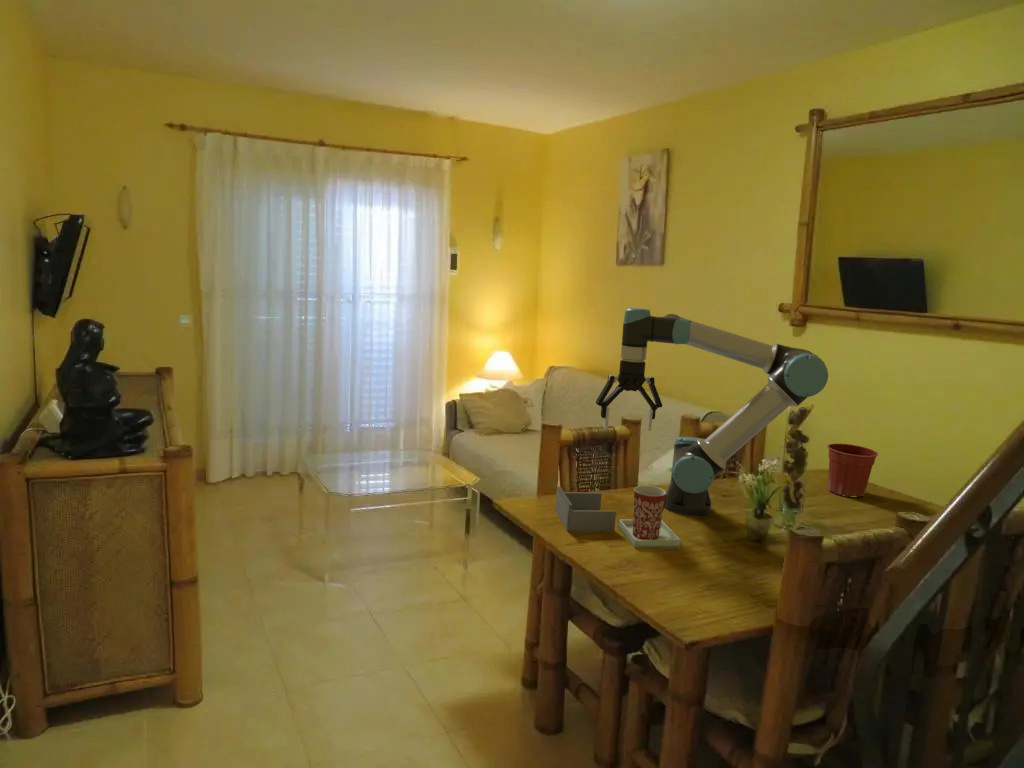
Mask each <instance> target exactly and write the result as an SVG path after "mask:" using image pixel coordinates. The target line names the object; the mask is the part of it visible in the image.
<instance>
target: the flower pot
mask: <svg viewBox="0 0 1024 768" xmlns="http://www.w3.org/2000/svg"><path fill="white" fill-rule="evenodd" d="M827 449H828V460H829V461H828V462H829V463H828V476H827V477H828V480H827V489H828V492H830V493H835V494H834V495H837V494H839V495H838V496H840V495H845V496H862V495H864V496H865V494H866V492H867V488H868V483H869V480H870V476H871V472H872V469H873V466H875V461H876V458H877V457H878V456H879V453H878V452H877V450H876V451H875V450H874V449H872V448H869V447H865V446H860V445H854V444H849V443H848V444H847V443H830V444H828V445H827Z"/></svg>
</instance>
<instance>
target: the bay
mask: <svg viewBox="0 0 1024 768" xmlns="http://www.w3.org/2000/svg"><path fill="white" fill-rule="evenodd" d="M602 494H603V493H602V492H580V491H579V492H578V491H577V492H573V491H564V490H563V489H562V487H561V486H557V487H556V496H555V509H554V511H555V513H556V515H557V517H558V518H559V520H560V521H561V524H562V525H563V527H564V528H565V530H566V532H615V528H616V517H617V516H616V515H617V511H616V510H601V504H602V503H601V502H602Z"/></svg>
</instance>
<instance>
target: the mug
mask: <svg viewBox="0 0 1024 768" xmlns="http://www.w3.org/2000/svg"><path fill="white" fill-rule="evenodd" d="M666 491H667V490H665V489H663V488H661V487H658V486H654V485H653V486H652V485H638V486H636V487H634V488H633V517H632V518H633V535H634V536H635V537H636V538H638V539H642V540H656V539H657V538H658V537H659V531H660V525H661V520H662V519H663V518H662V517H663V513H664V511H665V504H666Z"/></svg>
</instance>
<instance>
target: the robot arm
mask: <svg viewBox="0 0 1024 768" xmlns="http://www.w3.org/2000/svg"><path fill="white" fill-rule="evenodd" d="M621 335H622V337H621V350H620V358H621V359H620V360H619V370H618V371H619V373H618V375H613V374H611V373H610V374H608V377H607V382H606V383H605V385H604V387H603V388H602V390H601V392H600V393H599V395H598V396H597V399H596V400H595V404H596V405H598V406H599V407H600V417H601V418H602V419H603V420H602V421H603V422H602V428H603V429H604V430H608V428H609V418H610V417H609V415H610V407H608V406H610V404H611V403H612V402H613V401H614V400H615V399H616V398H617V397H618V396H619V395H620V394H621V393H623V391H626V392H629V391H630V392H632V391H633V392H637V391H638V392H639V393H640V394H641V396H642V398H644V400H645V401H646V403H647V404H648V406H649V407H647V411H646V418H645V419H646V421H645V422H646V423H645V429H646V430H647V431H652V424H653V423H652V421H653V420H655V419H656V411H657V409H659V408H662V407H663V403H662V401H661V400H662V399H661V397H660V395H659V391H658V390H657V387H656V385H655V382H656V381H655V377H653V376H652V375H649V376H645V373H646V372H645V371H646V360H647V352H648V351H647V349H648V342H651V343H653V342H654V343H664V344H673V345H687V346H690V347H693V348H697V349H699V350H702V351H706V352H708V353H712V354H715V355H718V356H721V357H724V358H728V359H731V360H734V361H737V362H740V363H742V364H746V365H749V366H752V367H756V368H758V369H761V370H763V372H764V374H767V375H768V376H767V384H766V385H765V386H763V387H762V389H761V390H759V392H757V393H755V395H754V396H753V397H751V398H750V399H749V400H748V401H747V402H746V403H745V404H743V405H742V406H741V407H740V408H738V410H737V411H735V413H733V414H732V415H731V416H730V417H729V418H728V419H726V420H725V421H724V422H723V423H722V424H721V425H720V426H718V428H717V429H716V430H714V431H713V432H712V433H711V434H709V436H707V437H706V438H701V437H691V436H679V437H676V438H675V440H674V444H673V455H672V456H673V458H672V465H671V474H670V475H671V477H670V483H669V485H668V487H667V489H666V490H665V491H666V504H665V507H664V509H666V510H667V511H668V510H669V511H670V512H672V513H676V514H680V515H686V516H704V515H708V514H710V513H711V511H712V501H711V497H710V491H709V488H710V487H711V485H712V484H713V482H714V479H715V478H717V476H719V475H720V474H721V473H722V472H723V471H724V470H725V469H726V465H727V461H728V460H729V459H730V458H731V457H733V455H735V454H736V453H737V452H738V451H739V450H740V449H741V448H743V447H744V446H745V445H746V444H747V443H748V442H750V441H751V440H752V439H753V438H754V437H755V436H756V435H758V434H759V433H760V432H762V430H763V429H765V428H766V427H767V426H768V425H769V424H771V422H773V421H774V420H775V419H776V418H778V416H779V415H781V414H782V412H784V411H785V410H787V408H788V407H798V406H800V404H802V403H803V402H804V401H805V400H807V398H810V397H813V396H816V395H817V394H819V393H820V392H823V391H822V390H824V389H825V387H826V385H827V384H828V381H829V370H828V368H827V365H826V362H824V360H823V359H822V358H820V357H819V356H818V354H815V353H813V352H811V351H810V350H808V349H803V348H798V347H792V346H788V345H784V344H780V343H777V342H776V343H774V344H769V343H766V342H762V341H759V340H756V339H752V338H748V337H745V336H743V335H739V334H736V333H733V332H730V331H726V330H722V329H720V328H717V327H715V326H710V325H707V324H704V323H700V322H697V321H695V320H691V319H688V318H684V317H681V316H679V315H678V314H674V313H668V314H666V315H663V316H653V315H651V310H650V309H648V308H643V307H642V308H641V307H627V309H625V311H624V316H623V323H622V334H621ZM617 382H618V384H617V386H615V388H614V389H613V390H612V392H611V393H609V392H610V390H611V389H612V387H613V385H614V384H615V383H617ZM645 382H646V384H648V388H649V390H650V393H651V395H652V398H653V400H654V401H653V400H652V398H651V397H650V395H649V394H648V393H647V391H646V390H645V388H644V386H643V385H644V384H645ZM608 394H609V395H608Z"/></svg>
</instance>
